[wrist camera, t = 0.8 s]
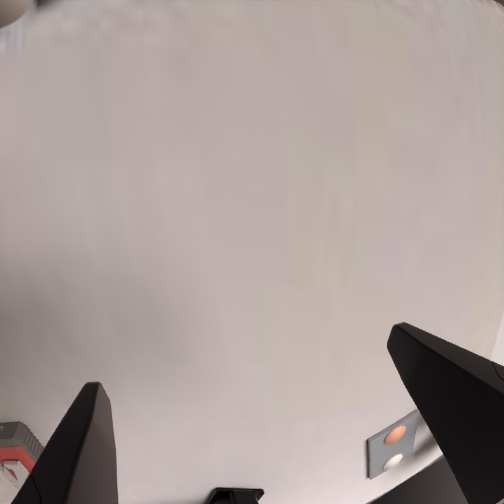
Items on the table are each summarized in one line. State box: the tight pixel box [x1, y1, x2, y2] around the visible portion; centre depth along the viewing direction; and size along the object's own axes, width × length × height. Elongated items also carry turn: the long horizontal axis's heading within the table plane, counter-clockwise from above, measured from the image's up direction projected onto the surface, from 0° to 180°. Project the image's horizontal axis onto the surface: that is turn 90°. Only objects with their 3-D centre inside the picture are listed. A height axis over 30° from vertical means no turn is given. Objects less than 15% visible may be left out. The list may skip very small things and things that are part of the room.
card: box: [368, 410, 418, 480], centre depth 36 cm, size 8×12×1 cm, turn 16°
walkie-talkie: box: [0, 422, 44, 490], centre depth 22 cm, size 9×4×20 cm
